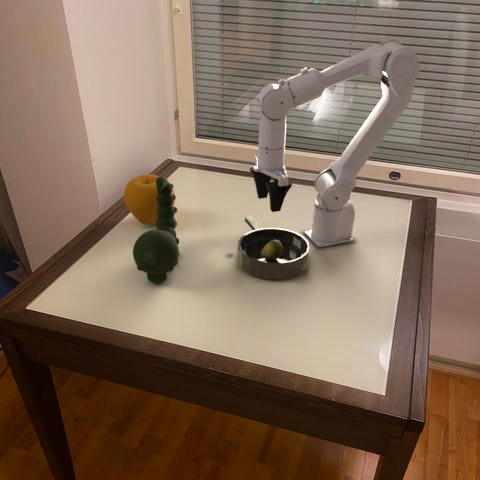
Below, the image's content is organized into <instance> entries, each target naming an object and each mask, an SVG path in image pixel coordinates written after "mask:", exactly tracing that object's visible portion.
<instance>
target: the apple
mask: <svg viewBox="0 0 480 480" xmlns="http://www.w3.org/2000/svg"><path fill="white" fill-rule="evenodd" d="M159 176H160V175H156V174H141V175H138V176H135V177H133V178H131V179H130V181H128V182H127V183H126V185H125V188H124V191H123V200H124V204H125V206H126V208H127V209H128V211H129V212H130V213H131V214H132V216H133V217H134V218H135V219H136V220H137V221H138V222H140V223H141V224H143V225H148V226H156V219H157V218H158V216H157V213H156V209H157V207H158V204H157V201H156V196H157V195H158V192H157V187H156V179H157V178H158V177H159ZM168 182H169V183H170V181H169V180H168ZM170 184H171V183H170ZM172 194H174V195H175V196H176V193H175V189H174V188H173V189H172ZM175 203H176V199H175V200H174V202H173V204H172V205H173V206H174V207H175Z"/></svg>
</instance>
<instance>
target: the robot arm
mask: <svg viewBox="0 0 480 480" xmlns="http://www.w3.org/2000/svg"><path fill="white" fill-rule="evenodd" d="M420 73H421V70H420V63H419V58H418V55H417V53H416V51H415V50H414V49H412V48H410V47H406V46H405V45H403V44H401V43H400V42H398V41H396V40H394V39H387V40H384V41H383V42H381V43H380V44H379V43H376V44H372V45H370V46H369V47H367V48H365V49H363V50H361V51H359V52H357V53H356V54H353V55H352V56H349V57H348V58H345V59H344V60H341V61H339V62H337V63H335V64H334V65H331V66H329V67H327V68H325V69H323V70H321V71H320V70H317V69H315V68H314V67H313V68H312V67H311V68H310V69H309V68H307V67H304V68H301V69H300V73H298V74H295V75H294V76H291V77H289V78H286V79H284V78H280V79H279V80H278V81H277V82H278V84H277V83H269V84H267V85H265V86H263V87H262V89H261V90H260V92H259V94H258V97H257V103H258V105H259V107H260V109H261V110H260V115H259V125H258V153H257V154H255V155H254V156H253V163H254V165H253V166H252V167H250V168H249V171H250V173H251V176H252V178H253V180H254V185H255V189H256V195H257V198H258V199H259V200H260V199H261V200H262V199H267V198H268V195H269V208H270V212H272V213H276V212H281V210H282V208H283V207H282V206H283V204H284V201H285V198H286V196H287V194H288V192H289V191H290V190H291V188H292V186H293V183H292V181H290V179H289V178H290V177H289V175H288V174H287V170H286V166H285V152H286V151H285V150H286V137H287V136H286V134H287V123H286V122H287V116H288V114H289V112H290V111H291V110H294V109H297V108H300V107H301V106H303V105H306V104H309V103H310V102H314V101H315V100H318V99H320V98H322V97H323V95H324V93H325V92H326V89H328V88H331V87H333V86H336V85H339V84H341V83H344V82H346V81H349V80H352V79H355V78H357V77H361V76H363V75H368V76H372V77H377V78H379V80H380V85H381V93H382V97H381V98H380V100H379V101H378V102H377V104H376V105H375V107H374V108H373V109H372V111H371V112H370V113H369V116H368V117H367V118H366V120H365V121H364V122H363V124H362V125H361V127H360V128H359V130H358V131H357V132H356V134H355V136H353V138H352V139H351V141H350V142H349V144H348V145H347V147H346V148H345V150H343V152H342V154H341V155H340V157H339V158H338V159H337V160H335V161H333V162H330V164H329V165H328V166H327V168H326V169H324V170H323V171H321V172H319V173H318V174H317V175H316V177H315V179H314V189H315V191H316V192H317V195H316V198H315V200H314V205H313V214H312V223H311V229H309V230H305V231H304V234H305V235H306V237H308V238H309V240H311V241H312V242H313V243H314V244H315V245H316V246H317V247H319V248H324V247H328V246H333V245H339V244H344V243H349V242H353V241H354V239H353V238H352V236H353V230H354V223H355V217H356V213H355V212H356V211H355V207H354V204H352V202H351V201H350V199H351V194H352V192H353V190H354V189H355V187H356V183H357V175H358V174H359V172H360V171H361V169H362V168H363V167H364V166H365V164H366V163H367V162H368V160H369V158H370V157H372V154H373V153H374V152H375V151H376V149H377V148H378V146H380V143H382V141H383V140H384V138H385V137H386V135H387V134H388V133H389V132H390V130H391V129H392V128H393V126H394V125H395V123H396V122H397V121H398V119H399V118H400V117H401V116H402V114H403V112H404V111H405V110H406V108H407V107H408V106H409V104H410V103H411V100H412V96H413V92H414V87H415V82H416V79H417V77H418V75H419V74H420ZM272 178H273V181H271V180H272Z"/></svg>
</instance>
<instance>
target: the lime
mask: <svg viewBox="0 0 480 480" xmlns="http://www.w3.org/2000/svg"><path fill="white" fill-rule="evenodd" d="M282 251H283V248H282V244H281V242H280V241H278V240H272V241H270V242H269V243H268V244H267V245H265V246H264V248H263V249H262V251H261V255H262V257H263V258H264V259H266V260H270V261H273V260H276V259H278V258H279V257H280V256H281V254H282Z"/></svg>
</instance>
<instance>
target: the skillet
mask: <svg viewBox="0 0 480 480" xmlns="http://www.w3.org/2000/svg"><path fill="white" fill-rule="evenodd" d="M262 228H263V229H257V230H250V231H247V232H246V233H245V234H243V235H241V237H240V238H239V239H238V241H237V256H236V257H237V264H238V265H239V267H240V268H241V270H243V271H244V272H246V273H247V274H248V275H250V276H254V277H258V278H260V279H266V280H285V279H290V278H294V277H296V276H298V275H301V274H302V273H303V272H304V271H305V270H306V269H307V268H308V265H309V262H310V260H309V259H310V251H311V245H310V243H309V240H308V239H307V238H306V237H305V236H304V235H302V234H300V233H298V232H295V231H293V230H290V229H285V228H278V227H262ZM263 230H264V234H263ZM257 231H258V235H257ZM259 232H260V233H262V234H259ZM272 240H278V241H280V242H281V244H282V248H283V251H282V254H281V256H280V257H279V258H278V259H276V260H273V261H270V260H266V259H264V258H263V257H262V255H261V251H262V249H263V248H264V246H265V245H267V244H268V243H269V242H270V241H272Z"/></svg>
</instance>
